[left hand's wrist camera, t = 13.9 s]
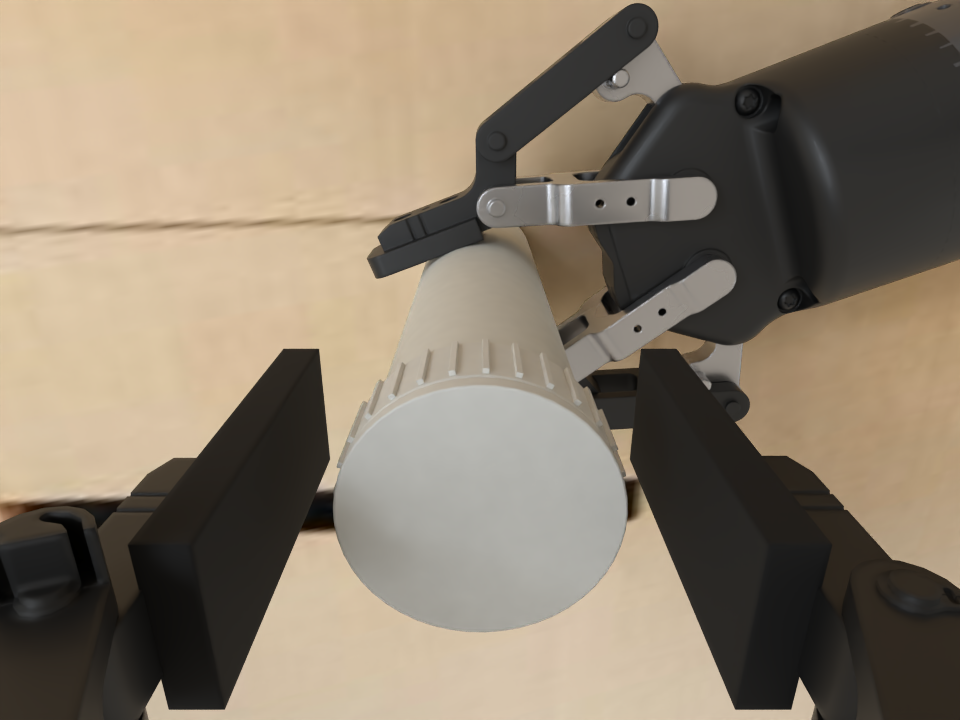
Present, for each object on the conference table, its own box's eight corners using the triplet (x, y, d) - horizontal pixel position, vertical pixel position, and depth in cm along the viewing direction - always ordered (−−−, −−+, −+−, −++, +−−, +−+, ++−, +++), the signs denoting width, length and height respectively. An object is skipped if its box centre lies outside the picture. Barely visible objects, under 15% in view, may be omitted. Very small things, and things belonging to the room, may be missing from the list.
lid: (442, 600, 13) (437, 676, 12) (296, 422, 12) (264, 478, 10) (655, 494, 12) (684, 559, 11) (525, 284, 11) (534, 320, 9)
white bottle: (414, 230, 27) (308, 433, 10) (510, 193, 26) (561, 346, 10) (452, 320, 28) (413, 625, 12) (543, 287, 28) (637, 558, 11)
